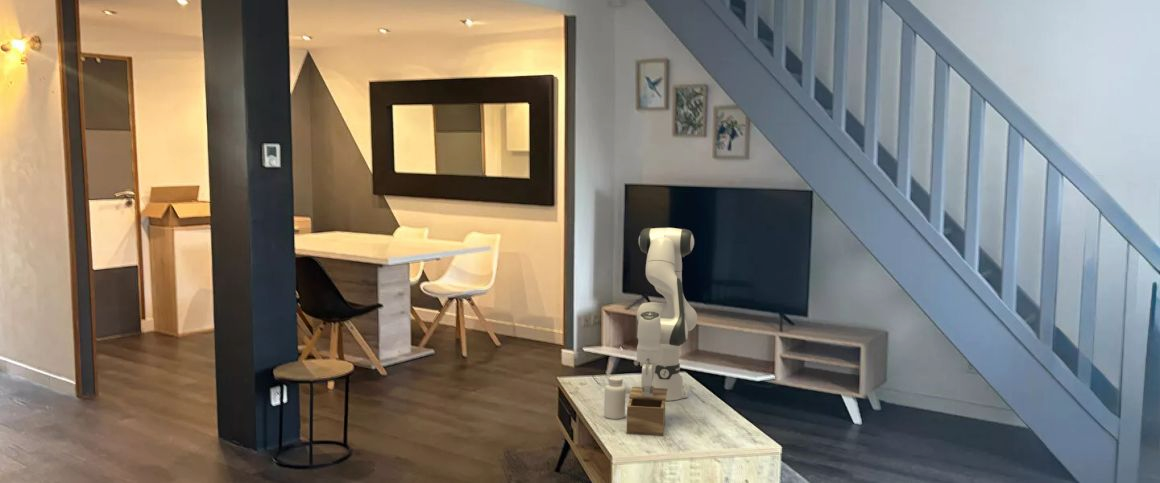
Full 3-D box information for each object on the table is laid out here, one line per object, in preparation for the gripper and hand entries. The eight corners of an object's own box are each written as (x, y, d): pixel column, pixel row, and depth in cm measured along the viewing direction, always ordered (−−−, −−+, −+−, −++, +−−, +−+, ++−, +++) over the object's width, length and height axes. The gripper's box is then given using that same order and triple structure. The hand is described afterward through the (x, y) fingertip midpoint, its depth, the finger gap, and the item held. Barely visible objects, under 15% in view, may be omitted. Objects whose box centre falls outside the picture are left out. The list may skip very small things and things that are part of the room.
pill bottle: (623, 420, 344) (624, 381, 342) (602, 418, 346) (603, 380, 344) (626, 414, 352) (627, 376, 350) (605, 412, 353) (606, 374, 352)
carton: (630, 422, 342) (630, 396, 341) (664, 424, 340) (665, 397, 339) (626, 433, 328) (627, 406, 327) (662, 435, 326) (663, 408, 325)
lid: (632, 388, 351) (632, 377, 351) (667, 390, 349) (667, 379, 349) (629, 398, 337) (629, 387, 336) (665, 400, 335) (665, 389, 334)
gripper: (655, 363, 326) (654, 401, 327) (658, 350, 346) (657, 386, 347) (638, 362, 327) (637, 400, 328) (642, 349, 347) (641, 385, 348)
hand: (647, 392), depth 338 cm, fingers open, 8 cm apart
